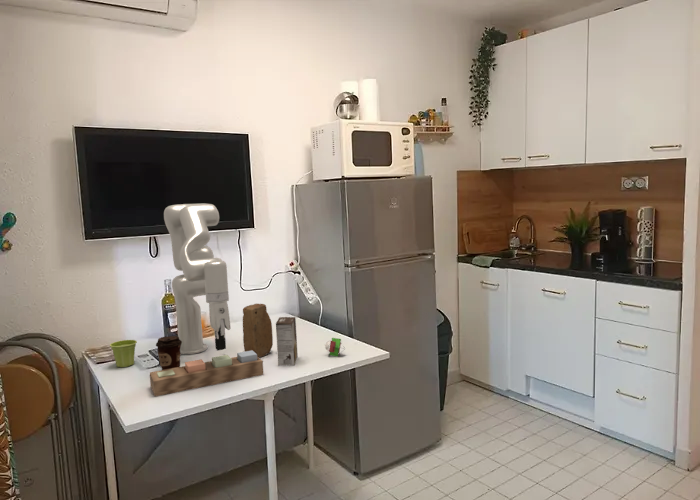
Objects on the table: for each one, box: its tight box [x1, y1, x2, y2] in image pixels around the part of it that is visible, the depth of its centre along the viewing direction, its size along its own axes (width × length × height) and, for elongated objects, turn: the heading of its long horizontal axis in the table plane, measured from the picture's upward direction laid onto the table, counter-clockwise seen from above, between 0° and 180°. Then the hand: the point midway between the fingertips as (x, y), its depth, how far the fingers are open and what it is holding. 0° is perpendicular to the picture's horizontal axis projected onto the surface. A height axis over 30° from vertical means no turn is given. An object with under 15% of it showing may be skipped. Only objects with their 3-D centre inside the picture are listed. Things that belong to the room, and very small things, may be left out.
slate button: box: [236, 350, 257, 363], centre depth 186 cm, size 6×6×4 cm
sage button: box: [211, 354, 232, 368], centre depth 182 cm, size 6×6×4 cm
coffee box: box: [275, 316, 299, 367], centre depth 196 cm, size 9×6×16 cm
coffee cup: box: [155, 335, 182, 370], centre depth 188 cm, size 9×8×13 cm
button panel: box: [149, 356, 264, 397], centre depth 180 cm, size 36×10×5 cm, turn 118°
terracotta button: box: [184, 359, 206, 373], centre depth 177 cm, size 6×6×4 cm
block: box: [242, 303, 274, 358], centre depth 206 cm, size 11×8×20 cm
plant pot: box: [109, 339, 137, 368], centre depth 200 cm, size 9×9×9 cm
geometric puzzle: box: [324, 337, 346, 357], centre depth 202 cm, size 7×7×8 cm
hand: (220, 349), depth 181 cm, fingers closed
